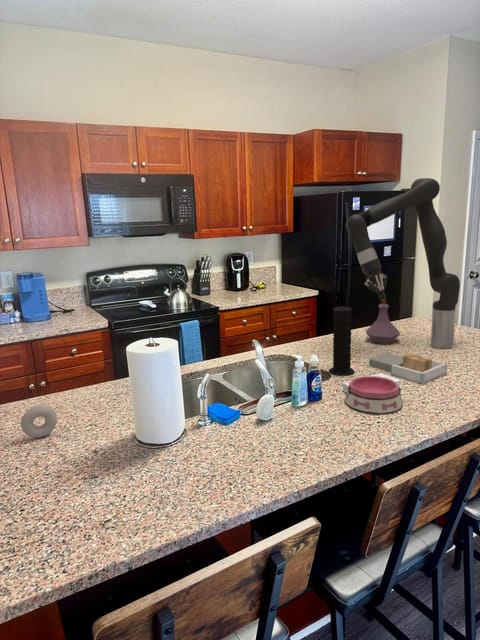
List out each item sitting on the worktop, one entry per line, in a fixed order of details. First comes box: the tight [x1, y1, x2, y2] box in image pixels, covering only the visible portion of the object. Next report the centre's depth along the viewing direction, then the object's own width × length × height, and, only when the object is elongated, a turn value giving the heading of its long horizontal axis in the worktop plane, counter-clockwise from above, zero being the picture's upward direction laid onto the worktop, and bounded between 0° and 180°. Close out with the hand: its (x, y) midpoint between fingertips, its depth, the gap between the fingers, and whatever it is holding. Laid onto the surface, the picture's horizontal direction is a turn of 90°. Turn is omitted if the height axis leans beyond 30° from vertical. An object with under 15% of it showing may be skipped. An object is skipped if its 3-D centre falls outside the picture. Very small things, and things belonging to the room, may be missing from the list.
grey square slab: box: [368, 352, 403, 373], centre depth 178 cm, size 12×12×3 cm
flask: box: [365, 299, 401, 345], centre depth 210 cm, size 16×16×20 cm
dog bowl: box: [344, 375, 404, 416], centre depth 146 cm, size 18×19×7 cm
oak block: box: [402, 353, 433, 372], centre depth 168 cm, size 5×6×9 cm
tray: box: [390, 359, 448, 385], centre depth 168 cm, size 16×13×4 cm
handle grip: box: [328, 306, 356, 377], centre depth 172 cm, size 10×26×10 cm
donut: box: [20, 404, 58, 439], centre depth 132 cm, size 10×3×10 cm, turn 122°
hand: (383, 299), depth 185 cm, fingers closed
